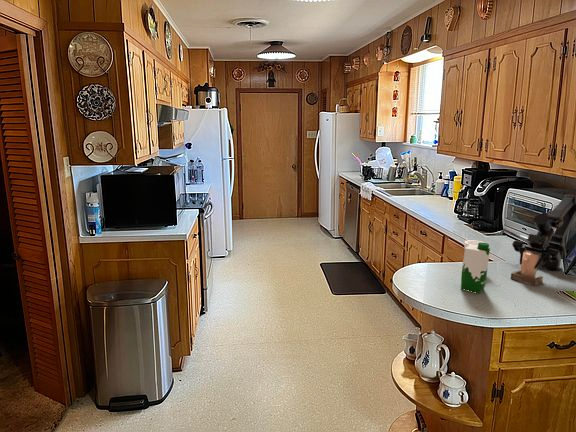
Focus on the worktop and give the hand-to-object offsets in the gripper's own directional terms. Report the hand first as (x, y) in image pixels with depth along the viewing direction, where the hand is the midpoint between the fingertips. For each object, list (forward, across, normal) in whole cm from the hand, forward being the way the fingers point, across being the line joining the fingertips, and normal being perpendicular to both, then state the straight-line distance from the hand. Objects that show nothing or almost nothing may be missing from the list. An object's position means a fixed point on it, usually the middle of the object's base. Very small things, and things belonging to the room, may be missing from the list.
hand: (527, 266), depth 187 cm
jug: (+5, 0, +5) cm, 7 cm away
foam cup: (+10, -21, 0) cm, 23 cm away
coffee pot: (-14, -14, +23) cm, 30 cm away
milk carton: (+25, -8, -15) cm, 30 cm away
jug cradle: (+4, 0, +6) cm, 7 cm away
